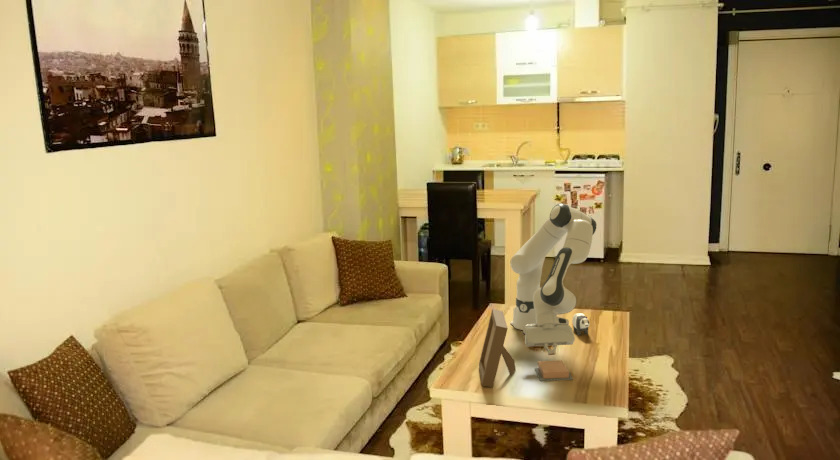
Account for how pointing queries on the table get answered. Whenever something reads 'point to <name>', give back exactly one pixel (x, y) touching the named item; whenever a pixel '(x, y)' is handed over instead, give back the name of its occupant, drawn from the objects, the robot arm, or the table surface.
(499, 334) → the photo frame
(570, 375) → the mat
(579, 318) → the giant panda
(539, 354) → the table surface
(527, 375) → the table surface
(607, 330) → the table surface
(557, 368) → the tile
